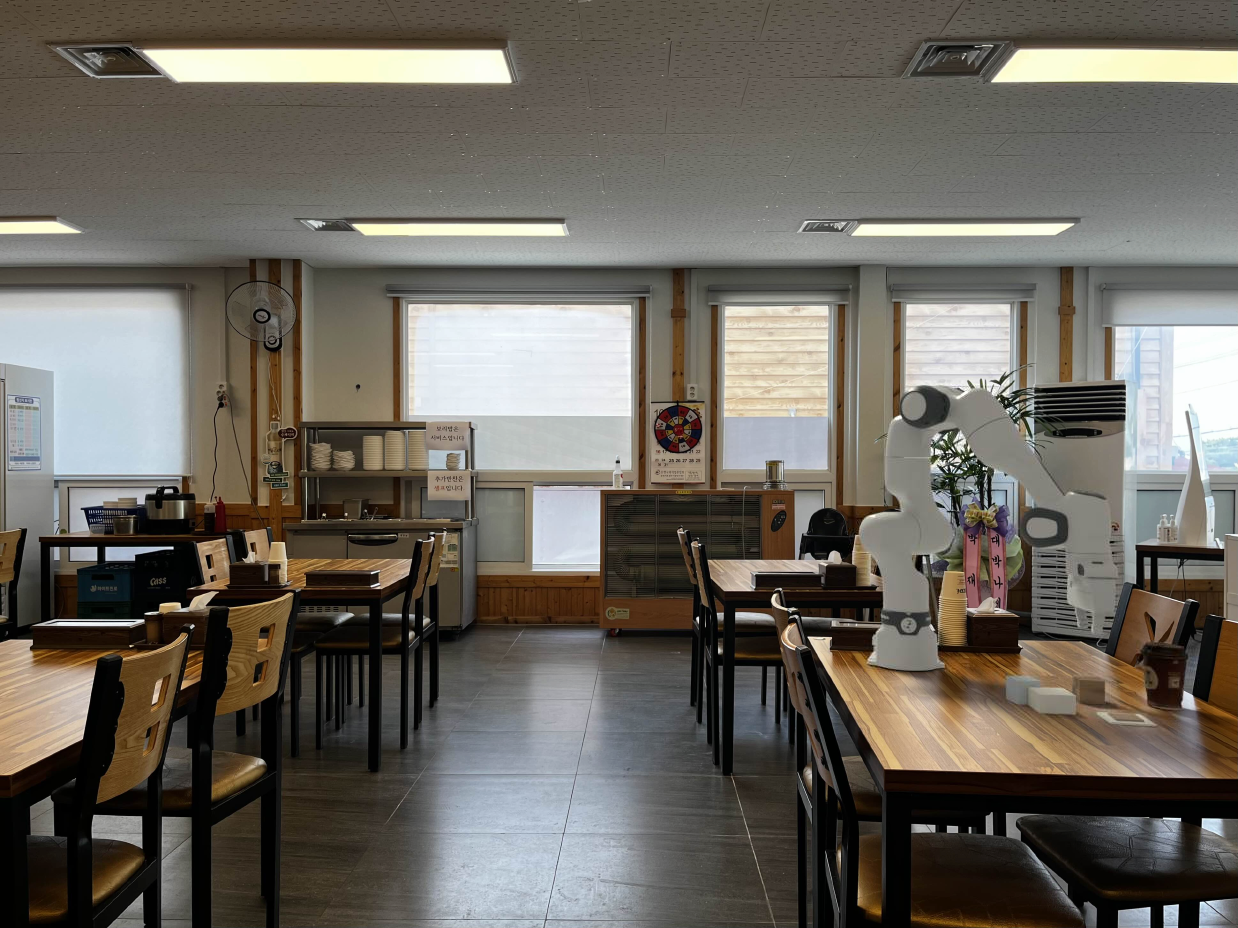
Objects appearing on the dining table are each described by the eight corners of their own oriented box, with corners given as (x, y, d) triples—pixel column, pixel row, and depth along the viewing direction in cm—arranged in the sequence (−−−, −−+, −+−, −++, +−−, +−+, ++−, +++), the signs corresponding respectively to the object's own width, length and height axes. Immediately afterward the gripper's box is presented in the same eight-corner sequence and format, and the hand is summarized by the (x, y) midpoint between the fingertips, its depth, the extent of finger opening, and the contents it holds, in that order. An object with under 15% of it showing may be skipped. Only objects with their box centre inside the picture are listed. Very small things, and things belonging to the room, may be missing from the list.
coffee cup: (1144, 709, 187) (1143, 645, 187) (1136, 700, 195) (1136, 639, 195) (1192, 713, 184) (1192, 648, 184) (1183, 704, 192) (1182, 642, 192)
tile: (1096, 713, 183) (1096, 710, 183) (1140, 716, 181) (1140, 712, 181) (1110, 723, 175) (1110, 720, 175) (1155, 726, 173) (1155, 722, 173)
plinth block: (1027, 705, 190) (1027, 686, 190) (1063, 707, 189) (1063, 687, 189) (1039, 714, 183) (1039, 694, 183) (1076, 715, 182) (1076, 695, 182)
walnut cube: (1072, 698, 197) (1072, 674, 197) (1097, 699, 196) (1097, 676, 196) (1079, 703, 192) (1079, 679, 192) (1105, 704, 191) (1105, 680, 191)
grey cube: (1006, 699, 195) (1006, 675, 195) (1028, 699, 195) (1028, 675, 196) (1018, 704, 190) (1018, 680, 190) (1041, 704, 190) (1040, 680, 191)
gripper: (1059, 562, 206) (1059, 624, 205) (1087, 569, 185) (1088, 637, 185) (1089, 563, 204) (1090, 625, 204) (1121, 570, 184) (1122, 638, 184)
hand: (1089, 631), depth 194 cm, fingers open, 8 cm apart
